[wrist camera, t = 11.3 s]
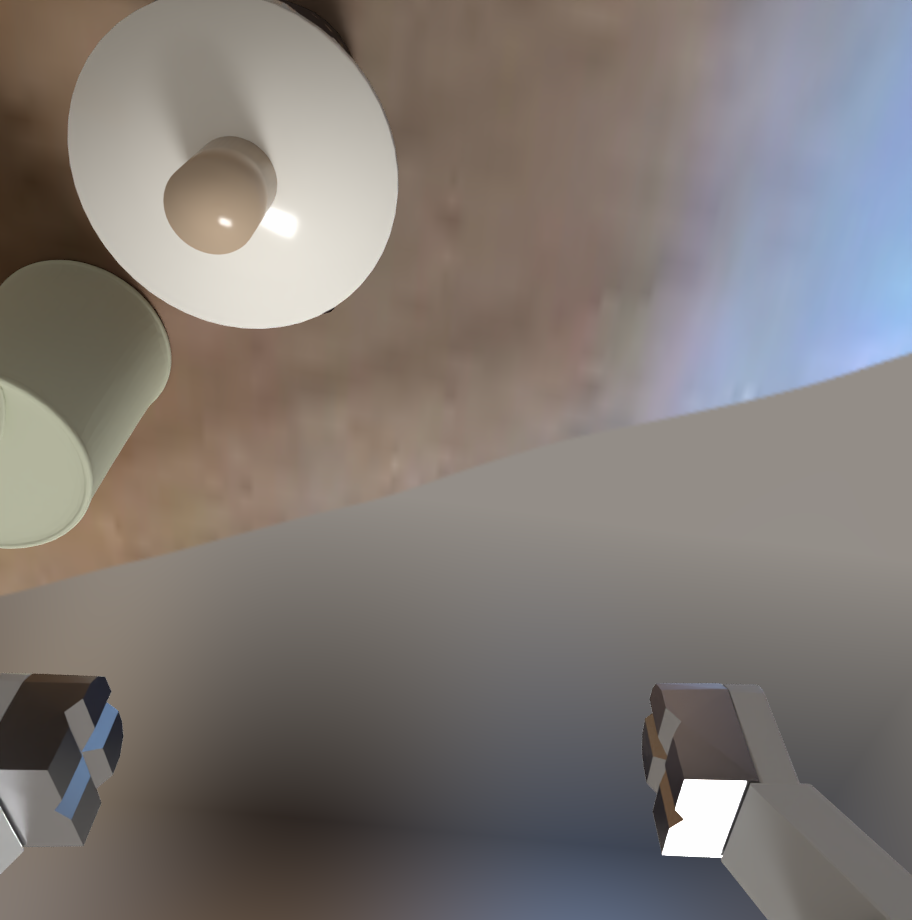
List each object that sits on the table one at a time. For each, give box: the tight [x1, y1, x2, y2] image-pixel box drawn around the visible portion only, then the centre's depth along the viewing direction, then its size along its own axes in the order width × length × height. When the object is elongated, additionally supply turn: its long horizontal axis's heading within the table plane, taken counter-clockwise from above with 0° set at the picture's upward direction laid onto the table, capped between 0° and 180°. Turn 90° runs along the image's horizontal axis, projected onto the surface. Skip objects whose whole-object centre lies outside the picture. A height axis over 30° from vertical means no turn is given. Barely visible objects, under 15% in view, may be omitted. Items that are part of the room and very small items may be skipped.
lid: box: [68, 0, 398, 329], centre depth 26 cm, size 11×11×4 cm
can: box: [0, 260, 171, 548], centre depth 37 cm, size 9×9×12 cm
